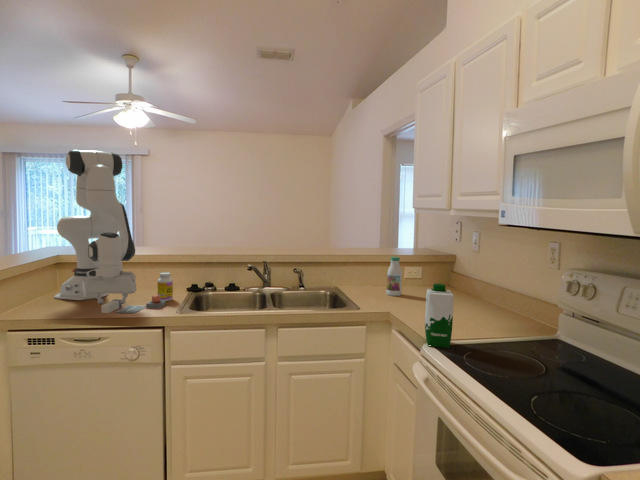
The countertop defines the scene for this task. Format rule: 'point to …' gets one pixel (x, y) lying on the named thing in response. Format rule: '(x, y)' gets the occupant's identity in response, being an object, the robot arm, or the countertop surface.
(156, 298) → the button
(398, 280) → the milk bottle
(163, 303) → the button collar
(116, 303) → the grey rectangular bar
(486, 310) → the countertop surface
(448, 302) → the milk carton
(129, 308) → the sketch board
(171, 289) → the supplement bottle
